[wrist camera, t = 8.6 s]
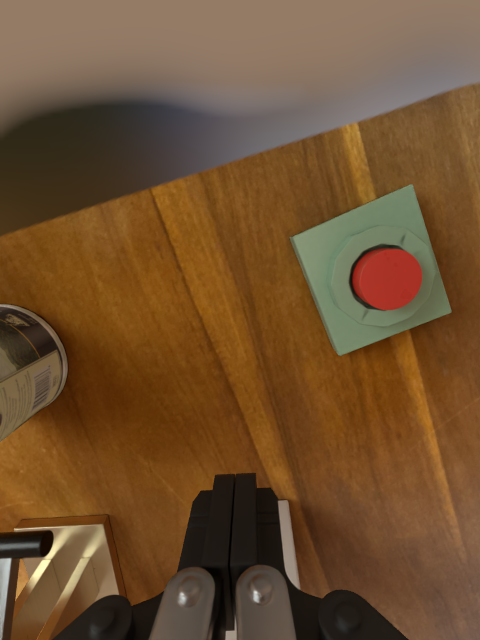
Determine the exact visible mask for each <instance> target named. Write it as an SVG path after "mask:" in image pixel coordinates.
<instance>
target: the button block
mask: <svg viewBox="0 0 480 640" xmlns="http://www.w3.org/2000/svg"><path fill="white" fill-rule="evenodd" d="M290 241H291V243H292V246H293V249H294V251H295V254H296V256H297V259H298V261H299V264H300V266H301V269H302V271H303V274H304V276H305V279H306V281H307V284H308V286H309V289H310V292H311V294H312V297H313V299H314V302H315V304H316V307H317V309H318V312H319V314H320V317H321V319H322V322H323V324H324V327H325V329H326V332H327V335H328V337H329V340H330V342H331V345H332V347H333V349H334V350H335V351H336V353H337V354H338V355H339V356H341V355H344V354H346V353H349V352H351V351H354V350H356V349H359V348H362V347H364V346H367V345H369V344H372V343H374V342H377V341H380V340H382V339H385V338H387V337H390V336H392V335H395V334H398V333H400V332H403V331H405V330H408V329H410V328H413V327H416V326H418V325H421V324H423V323H426V322H428V321H431V320H433V319H436V318H439V317H441V316H444V315H446V314H449V313H451V312H452V311H451V308H450V304H449V301H448V298H447V295H446V291H445V288H444V285H443V282H442V278H441V275H440V272H439V269H438V265H437V262H436V259H435V256H434V252H433V249H432V246H431V243H430V239H429V236H428V233H427V230H426V226H425V223H424V220H423V217H422V213H421V210H420V207H419V204H418V200H417V197H416V194H415V191H414V187H413V185H412V184H411V185H408V186H405V187H402V188H400V189H397V190H395V191H393V192H390V193H388V194H386V195H384V196H381V197H379V198H377V199H375V200H372V201H370V202H368V203H366V204H363V205H361V206H359V207H357V208H354V209H352V210H350V211H348V212H345V213H343V214H341V215H339V216H336V217H334V218H332V219H330V220H327V221H325V222H323V223H321V224H318V225H316V226H314V227H312V228H309V229H307V230H305V231H303V232H300V233H298V234H296V235H294V236H291V237H290ZM381 248H387V249H400V250H404V251H406V252H408V253H410V254H411V255H413V256H414V257H415V258H416V260H417V261H418V263H419V264H420V267H421V270H422V283H421V287H420V289H419V291H418V293H417V295H416V296H415V297H414V299H413V300H412V301H410V302H409V303H408V304H406V305H405V306H403V307H401V308H398V309H394V310H381V309H378V308H375V307H373V306H371V305H370V304H368V303H366V302H364V301H363V300H361V299H360V298H359V297H358V295H357V294H356V292H355V290H354V288H353V283H352V276H353V271H354V269H355V266H356V264H357V263H358V261H359V260H360V259H361V258H362V257H363V256H364V255H366V254H367V253H369V252H371V251H373V250H376V249H381Z"/></svg>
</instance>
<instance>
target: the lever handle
mask: <svg viewBox="0 0 480 640" xmlns="http://www.w3.org/2000/svg"><path fill="white" fill-rule="evenodd" d="M53 542H54V535H53V532H52V531H51V530H40V531H21V532H3V533H0V640H11V632H12V623H13V614H14V606H15V597H16V588H17V579H18V570H19V561H20V559H22V558H42V557H45V556H47V555H48V554H49V552H50V551H51V549H52V546H53Z"/></svg>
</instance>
